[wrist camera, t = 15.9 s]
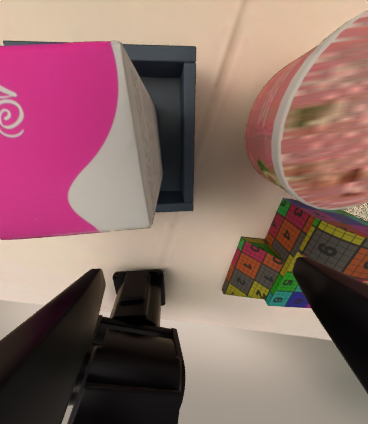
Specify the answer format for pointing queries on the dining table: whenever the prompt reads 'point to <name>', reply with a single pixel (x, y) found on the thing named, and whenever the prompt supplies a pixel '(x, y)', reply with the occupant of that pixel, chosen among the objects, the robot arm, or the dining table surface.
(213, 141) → the dining table surface
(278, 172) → the container
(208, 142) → the dining table surface
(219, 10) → the dining table surface
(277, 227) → the puzzle toy
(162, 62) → the bin
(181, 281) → the dining table surface
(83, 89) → the supplement box
